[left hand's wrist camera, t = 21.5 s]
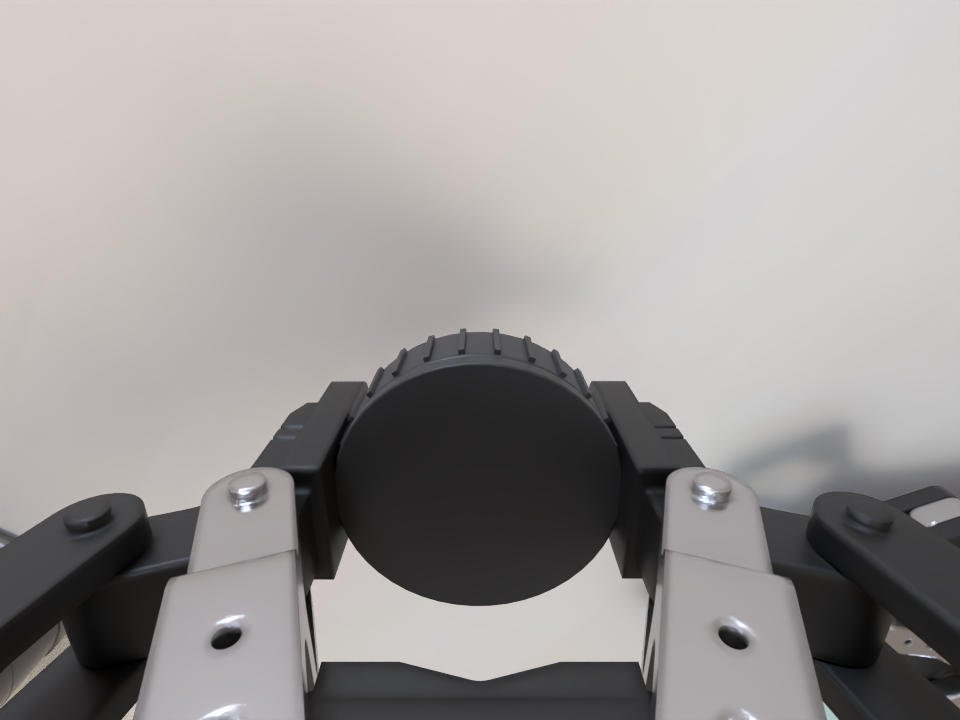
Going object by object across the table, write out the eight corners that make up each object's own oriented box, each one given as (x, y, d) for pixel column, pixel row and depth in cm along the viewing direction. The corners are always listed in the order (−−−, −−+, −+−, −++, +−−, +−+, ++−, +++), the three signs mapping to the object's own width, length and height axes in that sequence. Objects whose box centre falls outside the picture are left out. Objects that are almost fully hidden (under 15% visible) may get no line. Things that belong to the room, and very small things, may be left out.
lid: (305, 377, 10) (275, 417, 8) (566, 287, 9) (582, 313, 8) (409, 575, 12) (398, 637, 10) (633, 512, 11) (657, 567, 10)
